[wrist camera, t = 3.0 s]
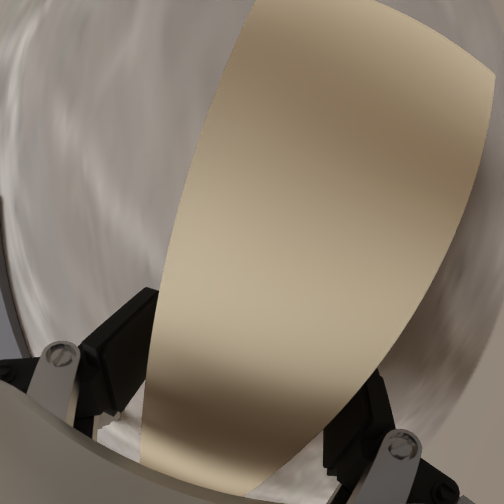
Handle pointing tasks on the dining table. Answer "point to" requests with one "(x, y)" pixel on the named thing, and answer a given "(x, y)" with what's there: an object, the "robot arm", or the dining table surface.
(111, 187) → the dining table surface
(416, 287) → the grooved wooden block
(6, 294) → the tool pad
